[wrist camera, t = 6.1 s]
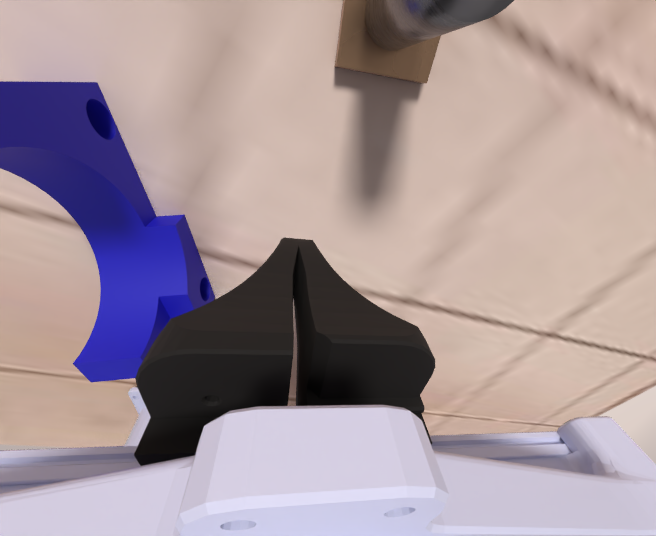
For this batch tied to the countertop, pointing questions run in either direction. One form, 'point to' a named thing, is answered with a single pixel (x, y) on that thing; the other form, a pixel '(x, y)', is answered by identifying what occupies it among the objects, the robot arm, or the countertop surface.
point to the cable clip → (104, 218)
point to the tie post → (403, 33)
